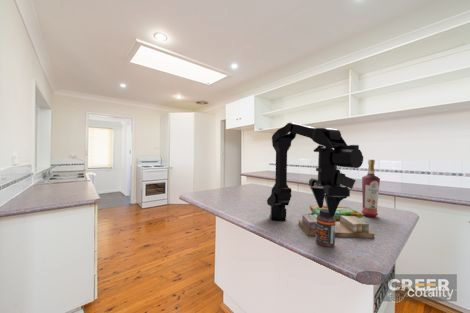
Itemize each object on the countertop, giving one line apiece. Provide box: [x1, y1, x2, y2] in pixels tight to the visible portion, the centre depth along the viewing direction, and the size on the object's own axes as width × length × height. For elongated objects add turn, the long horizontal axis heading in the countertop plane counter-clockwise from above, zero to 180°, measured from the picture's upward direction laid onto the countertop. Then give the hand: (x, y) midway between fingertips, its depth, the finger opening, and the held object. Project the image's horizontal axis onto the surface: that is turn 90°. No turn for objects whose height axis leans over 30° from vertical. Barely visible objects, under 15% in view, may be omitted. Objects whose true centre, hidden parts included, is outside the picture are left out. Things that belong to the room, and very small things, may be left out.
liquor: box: [361, 159, 381, 218], centre depth 98 cm, size 7×7×28 cm
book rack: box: [298, 214, 375, 239], centre depth 79 cm, size 24×12×4 cm, turn 87°
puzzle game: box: [309, 204, 364, 221], centre depth 95 cm, size 12×5×20 cm
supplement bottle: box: [315, 209, 337, 248], centre depth 67 cm, size 6×6×11 cm
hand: (325, 211), depth 67 cm, fingers open, 9 cm apart
